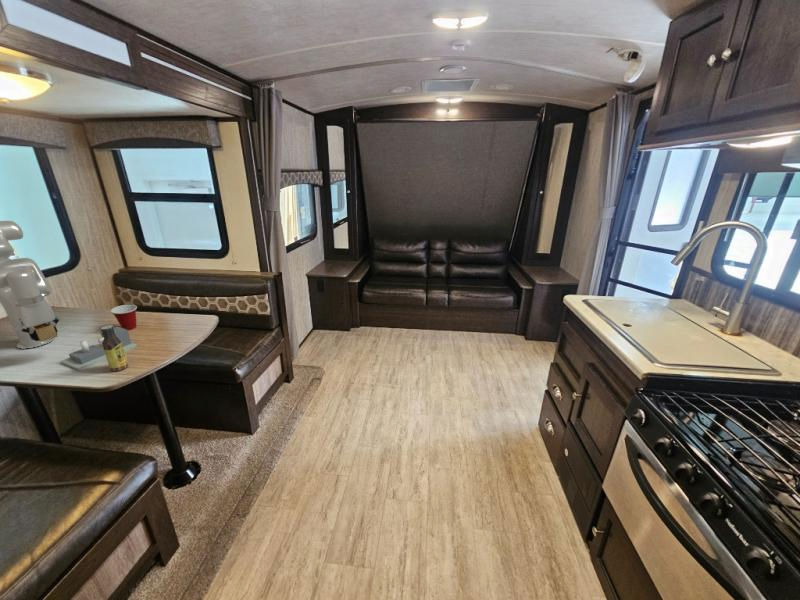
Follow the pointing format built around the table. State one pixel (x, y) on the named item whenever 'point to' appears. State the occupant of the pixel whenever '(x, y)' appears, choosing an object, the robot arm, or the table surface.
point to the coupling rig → (96, 351)
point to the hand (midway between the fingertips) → (45, 336)
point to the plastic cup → (126, 316)
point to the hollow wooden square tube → (45, 332)
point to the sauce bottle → (113, 349)
